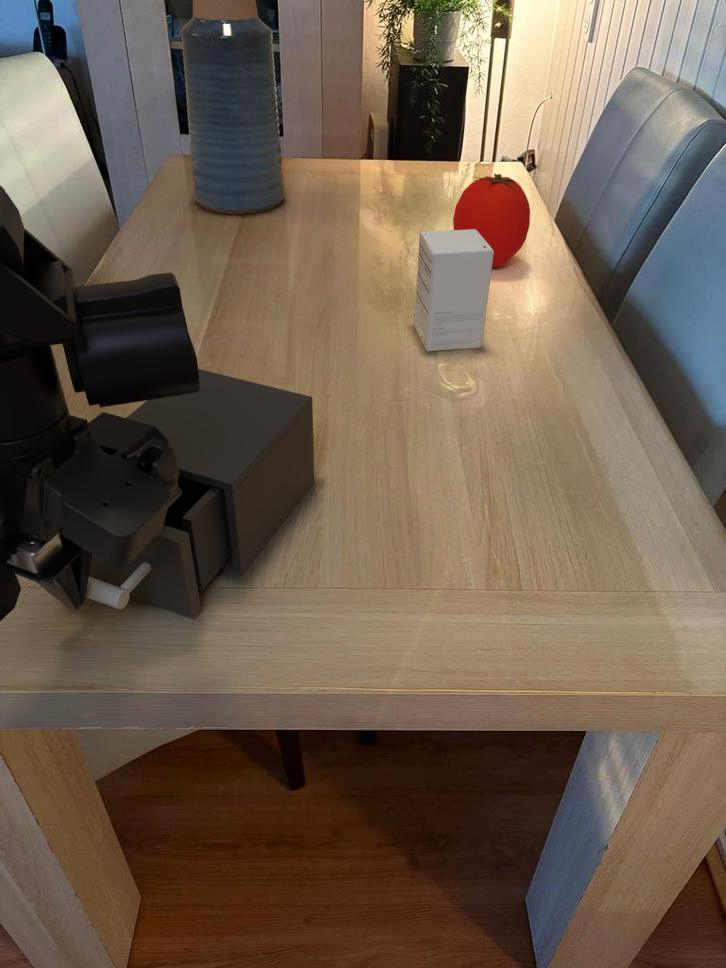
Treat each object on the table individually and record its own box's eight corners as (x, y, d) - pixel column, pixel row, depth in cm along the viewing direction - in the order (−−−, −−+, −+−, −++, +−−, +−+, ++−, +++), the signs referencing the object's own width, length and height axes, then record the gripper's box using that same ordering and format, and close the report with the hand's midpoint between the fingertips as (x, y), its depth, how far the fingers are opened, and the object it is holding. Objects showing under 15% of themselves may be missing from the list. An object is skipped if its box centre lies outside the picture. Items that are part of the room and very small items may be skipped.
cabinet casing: (242, 576, 61) (232, 484, 55) (115, 534, 65) (93, 443, 59) (314, 483, 71) (312, 396, 65) (201, 450, 74) (189, 366, 69)
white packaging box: (466, 322, 98) (477, 227, 91) (482, 349, 93) (496, 250, 85) (412, 325, 97) (418, 229, 90) (424, 352, 92) (433, 252, 84)
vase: (179, 196, 137) (153, -8, 117) (256, 182, 145) (244, -12, 125) (221, 222, 127) (200, 2, 107) (301, 205, 135) (296, -2, 115)
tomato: (496, 245, 121) (508, 159, 113) (539, 273, 112) (555, 182, 104) (433, 254, 117) (440, 166, 109) (472, 284, 108) (483, 191, 100)
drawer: (159, 660, 53) (141, 583, 48) (33, 611, 56) (4, 534, 51) (271, 520, 65) (266, 447, 60) (162, 486, 68) (149, 415, 64)
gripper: (0, 562, 32) (78, 760, 42) (225, 369, 46) (245, 553, 56) (-179, 495, 36) (-69, 693, 45) (80, 334, 49) (123, 513, 59)
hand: (75, 605), depth 51 cm, fingers closed
